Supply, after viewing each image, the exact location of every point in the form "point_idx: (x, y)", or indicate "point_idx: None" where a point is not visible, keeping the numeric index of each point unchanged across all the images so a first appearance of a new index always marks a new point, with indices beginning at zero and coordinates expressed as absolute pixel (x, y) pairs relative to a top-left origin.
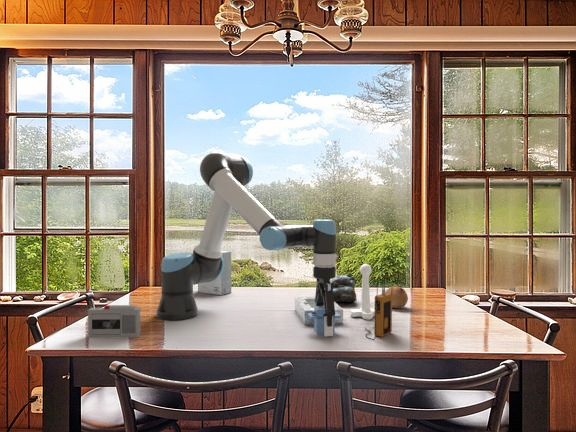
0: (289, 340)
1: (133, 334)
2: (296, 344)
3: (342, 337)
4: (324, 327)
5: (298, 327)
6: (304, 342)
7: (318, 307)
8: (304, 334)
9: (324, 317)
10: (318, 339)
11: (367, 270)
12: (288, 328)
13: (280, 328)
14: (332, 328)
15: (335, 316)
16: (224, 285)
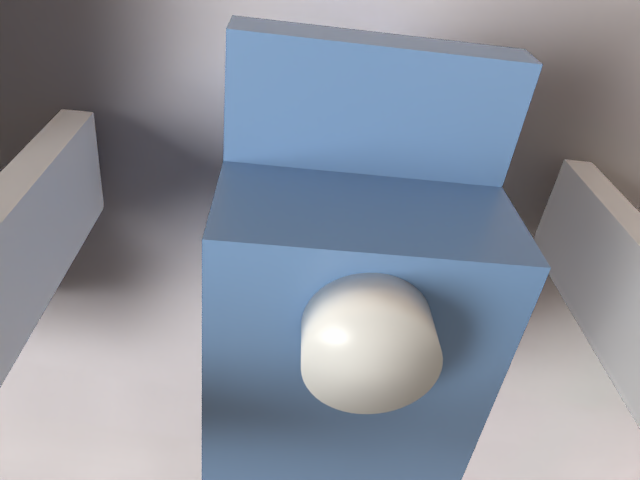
0: (476, 472)
1: None
2: (585, 453)
3: (636, 38)
4: (573, 305)
5: (125, 361)
6: (573, 405)
7: (276, 474)
8: None
9: (633, 409)
10: (559, 299)
11: None
12: (152, 430)
13: (146, 473)
14: (632, 217)
15: (502, 166)
16: None
